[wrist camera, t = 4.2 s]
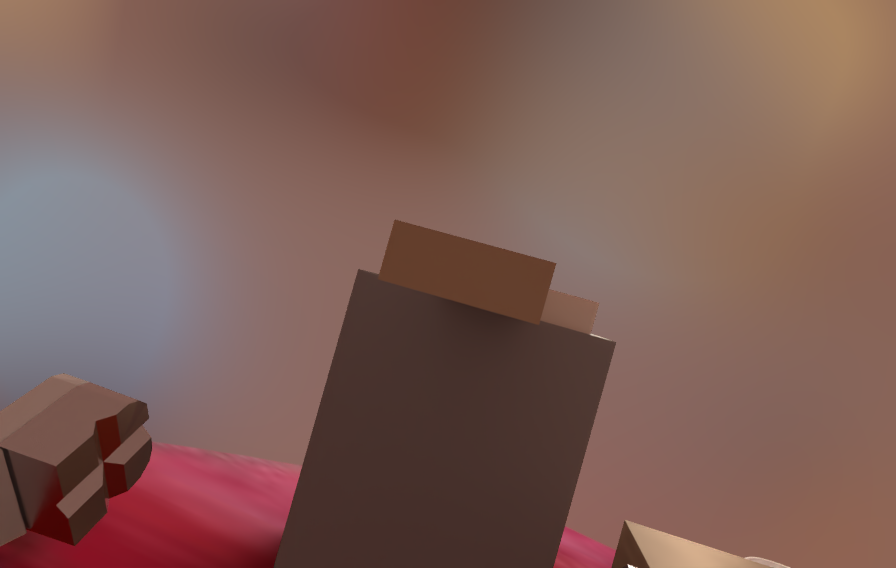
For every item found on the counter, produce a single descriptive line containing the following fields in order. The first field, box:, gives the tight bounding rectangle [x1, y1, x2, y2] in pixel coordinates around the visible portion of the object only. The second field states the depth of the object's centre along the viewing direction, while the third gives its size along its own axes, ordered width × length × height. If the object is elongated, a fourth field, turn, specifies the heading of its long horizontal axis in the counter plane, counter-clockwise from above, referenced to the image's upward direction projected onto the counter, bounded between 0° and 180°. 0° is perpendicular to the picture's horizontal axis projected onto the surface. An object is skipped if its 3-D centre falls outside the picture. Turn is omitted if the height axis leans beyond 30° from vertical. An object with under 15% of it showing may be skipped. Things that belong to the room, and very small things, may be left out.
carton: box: [274, 269, 616, 568], centre depth 33 cm, size 12×16×26 cm
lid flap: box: [378, 220, 599, 334], centre depth 26 cm, size 10×25×2 cm, turn 173°
